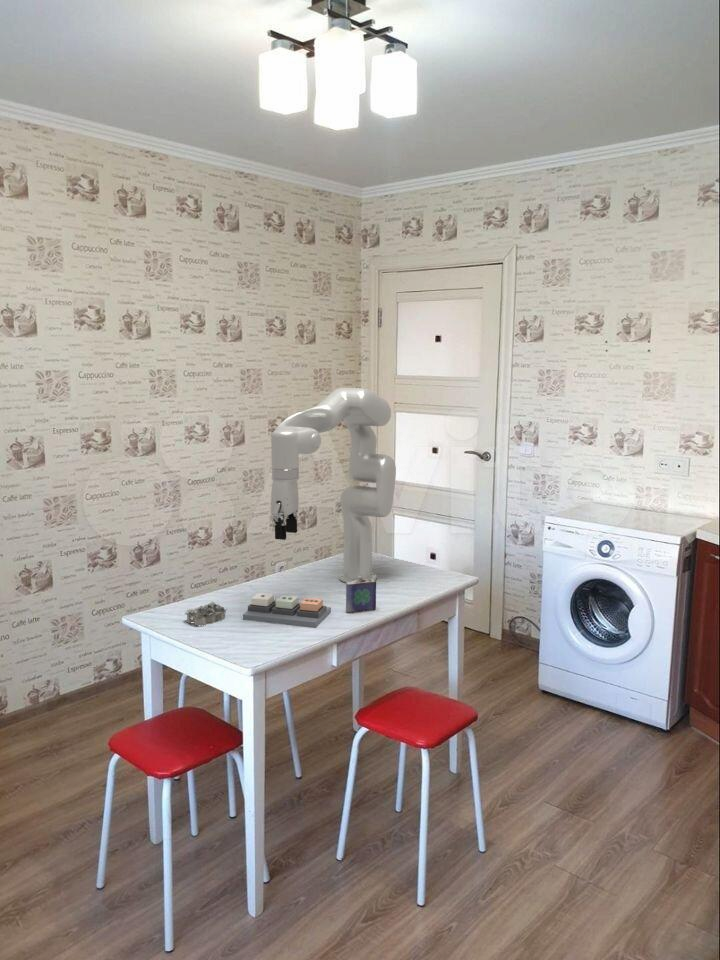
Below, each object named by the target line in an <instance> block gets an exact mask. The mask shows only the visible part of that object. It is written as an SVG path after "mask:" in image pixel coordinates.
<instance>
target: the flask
mask: <svg viewBox="0 0 720 960" xmlns="http://www.w3.org/2000/svg"><path fill="white" fill-rule="evenodd" d="M376 609H377V581H376V580H373V579H372V580H371V579H369V580H368V579H363V578H362V575H359V579H358V581H353V582H348V583H345V612H346V614H355V613H364V612H371V611H372V612H374V611H376Z"/></svg>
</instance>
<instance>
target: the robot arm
mask: <svg viewBox="0 0 720 960" xmlns="http://www.w3.org/2000/svg"><path fill="white" fill-rule="evenodd" d="M391 417H392V409H391V406H390V404H389V402H388V401H387V400H386V399H384V398H383V397H381V396H380V395H379V394H377V393H376V392H373V391H372V390H370V389H367V388H364V387H362V388H361V387H338V388H336V389H334V390H333V391H331V392H330V393H329V394H328V395H327V396H326V397H325V398H324V399H323V400H321V402H319V403H318V404H317V405H315V406H314V407H310V408H308V409H305V410H302V411H300V412H297V413H295V414H292V415H290V416H288V417H286V419H284V420H283V421H282V422H280V423H279V425H278V426H276V428H275V429H274V431H273V432H271V438H270V440H271V441H270V443H271V447H270V449H271V453H270V454H271V480H272V482H271V483H272V485H271V490H270V491H271V493H270V498H271V499H270V514H271V516H272V518H273V521H274V522H273V525H274V539H275V540H280V541H285V540H287V533H288V534H289V533H291V534H297V533H298V517H299V516H298V512H299V511H298V510H299V505H300V504H299V502H300V501H299V485H298V481H299V480H300V468H299V463H300V461H299V460H300V459H299V455H301V454H302V455H303V454H304V455H306V454H307V455H311V454H314V453H315V452H317V451H318V450H319V449H320V447H321V444H322V437H321V433H326V432H329V431H333V430H334V429H335V428H336V427H337V426H338V425H339V424H340V423H341V422H344V424H345V426H346V427H347V430H348V433H349V435H350V449H349V456H348V457H349V458H348V459H349V460H348V472H347V473H348V476H349V478H350V479H351V480H353V481H356V482H359V483H360V482H361V483H369V484H370V483H371V484H376V487H374V486H365V485H349V486H346V487H345V488H344V489H343V490H342V491H341V494H340V499H339V501H340V507H341V511H342V512H341V513H342V521H343V572H341V573H339V575H338V580H340V581H341V582H343V583H345V584H346V583H348V582H353V581H358V579H359V575H362V578H363V579H368V580H369V579H371V580H372V579H373V580H375V581H376V580H377V574H376V573H375V572H373V526H372V523H371V521H370V518H369V517H375V518H386V517H388V516H389V515H390V513H391V512H392V509H393V505H394V498H395V497H394V496H395V485H396V477H397V476H396V475H397V465H396V462H395V460H394V459H393V457H392V456H390V455H388V454H380V453H377V435H376V433H375V431H374V430H373V428H372V427H384V426H386V425H387V424H388V423H389V422H390V420H391Z"/></svg>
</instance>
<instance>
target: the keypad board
mask: <svg viewBox="0 0 720 960" xmlns="http://www.w3.org/2000/svg"><path fill="white" fill-rule="evenodd" d="M300 603H301V602H298V604H297V605H296V606H295V607H294V608H293V609H288V608H278V607H276V600H275V601H274V602H273V603H271V604H270V605H269V606H259V605H252V602H251V603H250V604H249V605H247V610H246V611H245V612H244V613H243V614H242V620H243V621H252V622H261V623H270V624H279V625H287V626H288V625H289V626H298V627H307V628H315V629H316V628H317V627H318V626H319V625H320V624H321V623H322V622H323V621H324V620H325V619H326V618H327V617H328V616H329V615H330V614H331V612H332V608H331V607H329V606H327V605H323V606H322V607H321V608H320V609H319V610H318V611H307V610H300Z"/></svg>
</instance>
